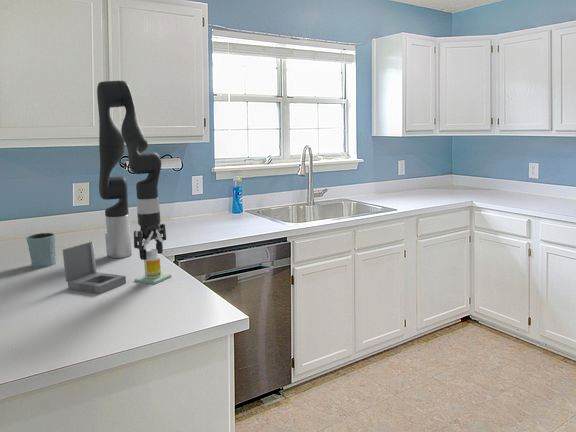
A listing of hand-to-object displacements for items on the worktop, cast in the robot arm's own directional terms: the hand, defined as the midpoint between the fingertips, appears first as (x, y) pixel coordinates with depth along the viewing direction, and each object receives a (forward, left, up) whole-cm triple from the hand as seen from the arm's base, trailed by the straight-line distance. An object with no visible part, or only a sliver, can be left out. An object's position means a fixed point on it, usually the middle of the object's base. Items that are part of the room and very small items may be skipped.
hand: (151, 256), depth 173 cm
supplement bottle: (0, 0, -8) cm, 8 cm away
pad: (0, 0, -8) cm, 8 cm away
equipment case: (-13, -13, -8) cm, 20 cm away
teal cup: (-54, 0, -8) cm, 55 cm away
